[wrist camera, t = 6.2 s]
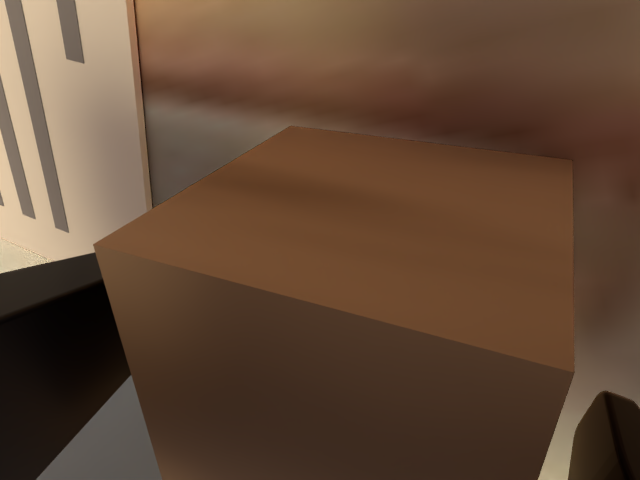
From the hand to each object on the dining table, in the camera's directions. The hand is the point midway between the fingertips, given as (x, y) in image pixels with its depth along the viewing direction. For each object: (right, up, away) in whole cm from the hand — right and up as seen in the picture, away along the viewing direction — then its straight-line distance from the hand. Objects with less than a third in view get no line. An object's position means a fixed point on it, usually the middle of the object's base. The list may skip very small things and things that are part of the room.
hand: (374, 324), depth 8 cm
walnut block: (+1, +1, +2) cm, 2 cm away
